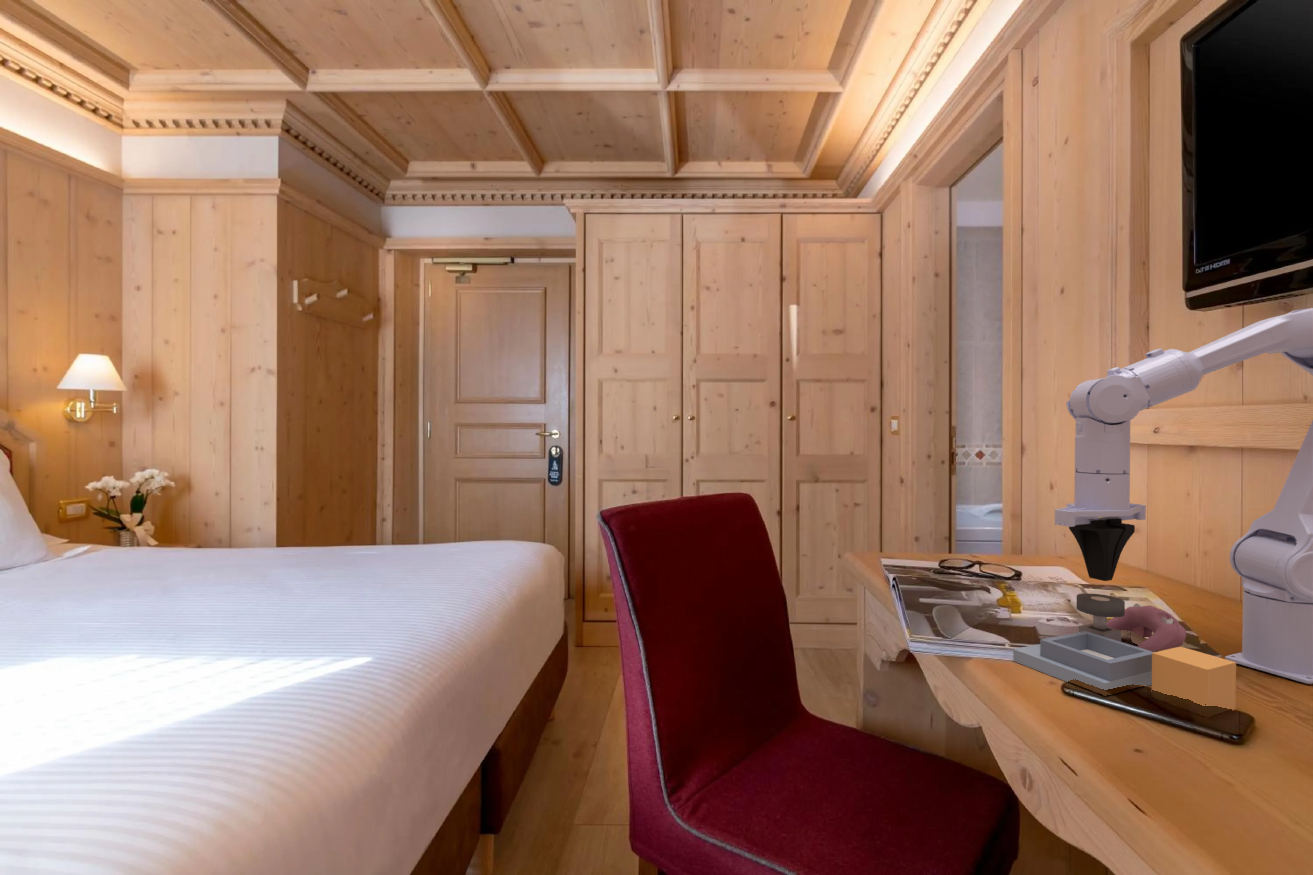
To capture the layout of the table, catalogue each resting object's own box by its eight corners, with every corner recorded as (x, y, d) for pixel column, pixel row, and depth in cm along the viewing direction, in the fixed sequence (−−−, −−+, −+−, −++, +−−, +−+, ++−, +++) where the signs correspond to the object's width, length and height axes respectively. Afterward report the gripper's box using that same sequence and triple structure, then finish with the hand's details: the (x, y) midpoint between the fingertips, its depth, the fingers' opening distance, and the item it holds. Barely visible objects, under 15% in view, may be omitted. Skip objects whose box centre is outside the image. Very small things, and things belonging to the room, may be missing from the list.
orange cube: (1179, 690, 69) (1180, 646, 69) (1235, 709, 64) (1236, 662, 64) (1151, 698, 67) (1152, 652, 67) (1206, 718, 62) (1207, 669, 62)
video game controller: (1171, 678, 76) (1202, 629, 75) (1134, 659, 77) (1164, 610, 76) (1127, 649, 86) (1153, 605, 85) (1094, 632, 86) (1120, 589, 86)
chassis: (1087, 645, 83) (1088, 619, 83) (1183, 676, 72) (1184, 647, 72) (1013, 660, 77) (1013, 633, 77) (1105, 696, 67) (1105, 664, 67)
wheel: (1092, 619, 82) (1093, 591, 82) (1133, 630, 78) (1134, 601, 78) (1067, 624, 80) (1067, 595, 80) (1107, 636, 76) (1107, 606, 76)
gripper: (1106, 468, 85) (1105, 566, 85) (1032, 472, 80) (1031, 577, 80) (1164, 472, 79) (1162, 578, 79) (1088, 476, 73) (1086, 590, 73)
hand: (1100, 578), depth 79 cm, fingers closed
